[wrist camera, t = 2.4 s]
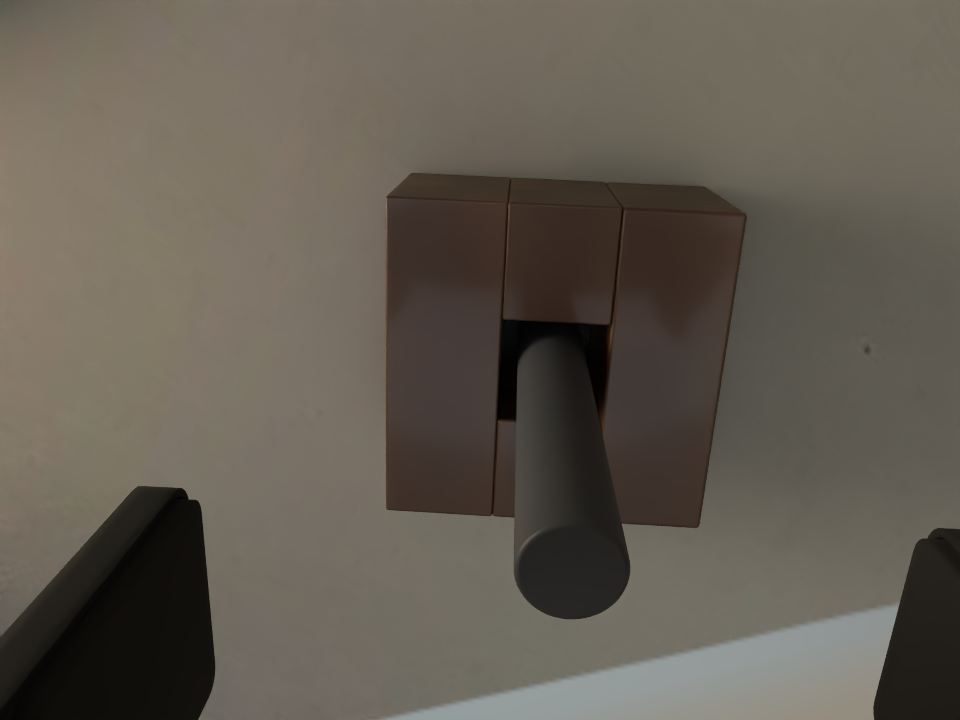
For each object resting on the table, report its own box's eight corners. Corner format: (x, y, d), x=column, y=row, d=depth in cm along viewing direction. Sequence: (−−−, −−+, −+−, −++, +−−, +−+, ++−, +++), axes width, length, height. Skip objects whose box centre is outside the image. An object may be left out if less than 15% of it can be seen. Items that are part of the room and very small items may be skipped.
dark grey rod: (579, 294, 22) (637, 526, 11) (574, 350, 22) (625, 625, 11) (520, 291, 22) (516, 519, 11) (516, 347, 22) (510, 618, 11)
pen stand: (707, 186, 20) (749, 213, 17) (671, 454, 23) (699, 530, 19) (410, 172, 21) (385, 196, 17) (407, 439, 23) (385, 510, 20)
